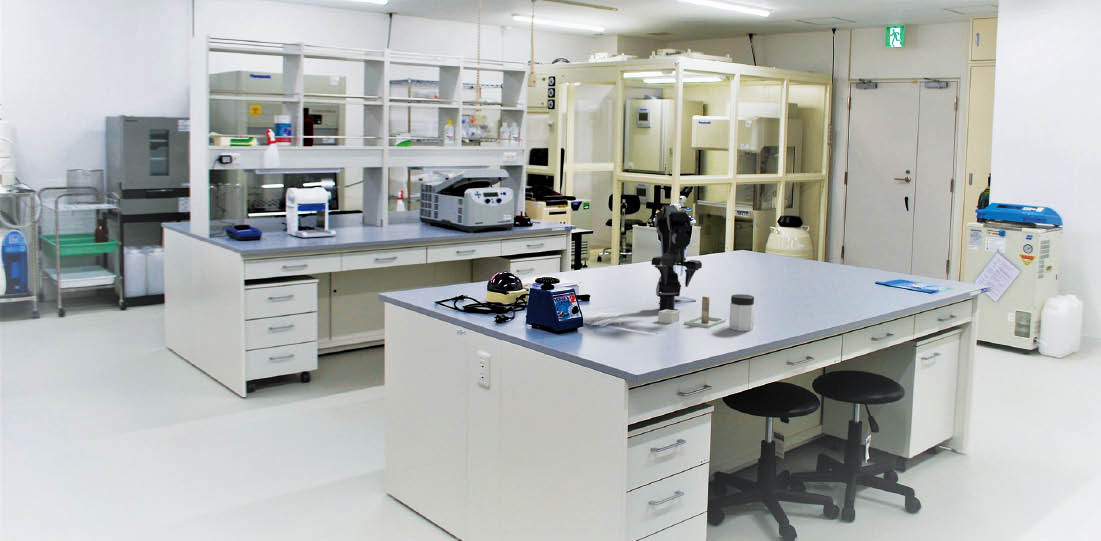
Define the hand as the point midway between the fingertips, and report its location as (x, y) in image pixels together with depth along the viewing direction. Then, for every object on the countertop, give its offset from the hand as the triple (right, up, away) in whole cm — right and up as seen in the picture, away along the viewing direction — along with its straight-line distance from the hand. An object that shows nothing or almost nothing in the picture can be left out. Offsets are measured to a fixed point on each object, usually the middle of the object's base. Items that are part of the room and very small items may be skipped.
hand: (675, 285), depth 337 cm
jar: (+22, -16, -13) cm, 30 cm away
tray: (+10, -15, -8) cm, 19 cm away
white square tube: (-3, -14, -6) cm, 15 cm away
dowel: (+10, -14, -8) cm, 19 cm away
